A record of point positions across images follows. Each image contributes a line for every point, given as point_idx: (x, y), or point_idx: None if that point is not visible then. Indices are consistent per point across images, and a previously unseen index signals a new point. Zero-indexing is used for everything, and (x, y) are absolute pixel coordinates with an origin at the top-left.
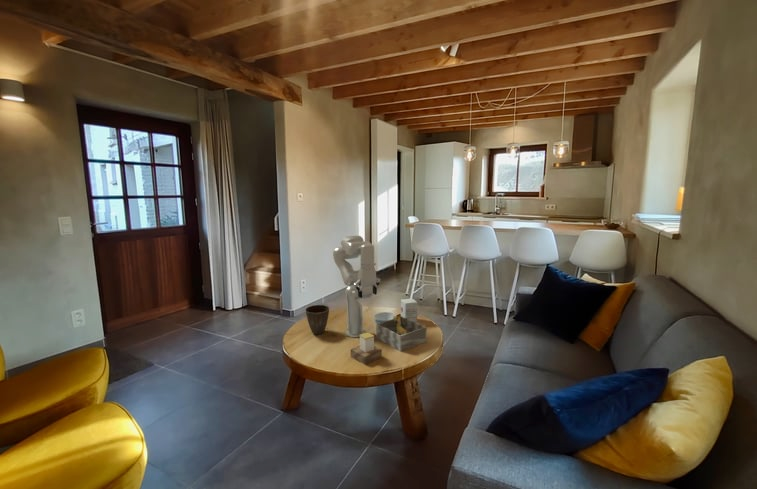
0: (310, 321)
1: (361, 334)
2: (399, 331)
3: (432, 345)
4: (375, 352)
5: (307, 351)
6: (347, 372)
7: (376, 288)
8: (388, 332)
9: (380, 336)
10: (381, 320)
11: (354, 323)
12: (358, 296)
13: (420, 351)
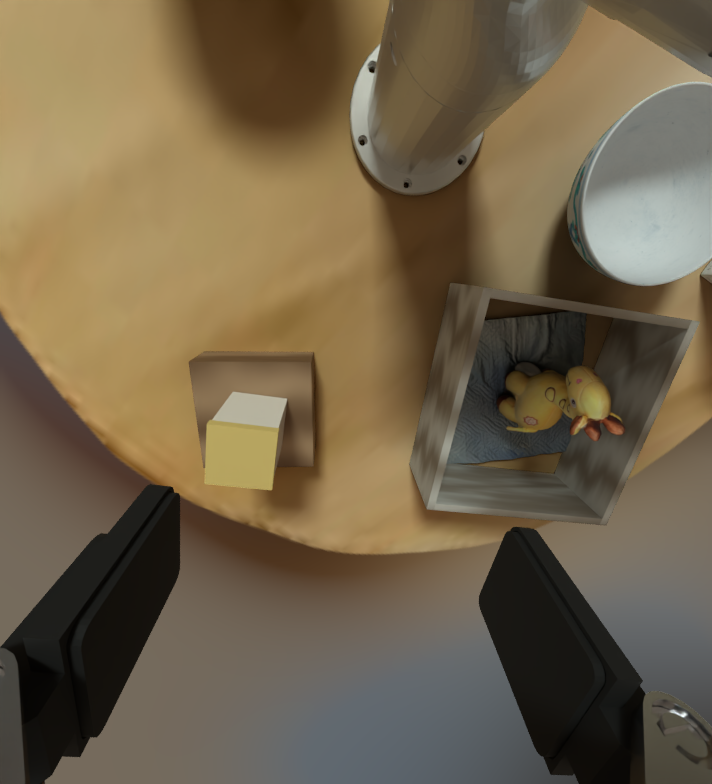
0: None
1: (220, 428)
2: (524, 405)
3: None
4: None
5: (19, 91)
6: (119, 441)
7: (559, 754)
8: (446, 411)
9: (448, 323)
10: (583, 234)
11: (393, 127)
12: (150, 489)
13: (462, 515)
